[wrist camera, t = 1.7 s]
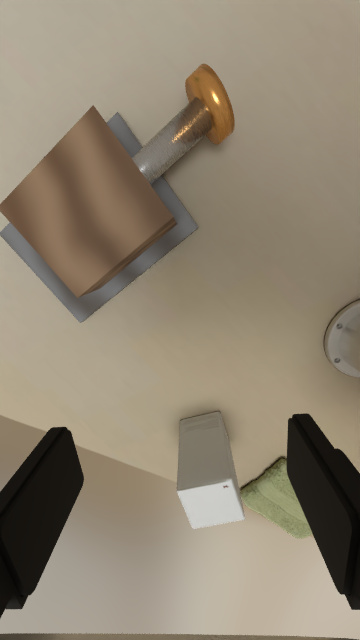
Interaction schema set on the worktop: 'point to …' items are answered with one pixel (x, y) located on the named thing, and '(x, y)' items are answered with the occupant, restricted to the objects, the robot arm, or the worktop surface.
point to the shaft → (189, 124)
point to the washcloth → (277, 500)
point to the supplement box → (207, 472)
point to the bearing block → (92, 215)
